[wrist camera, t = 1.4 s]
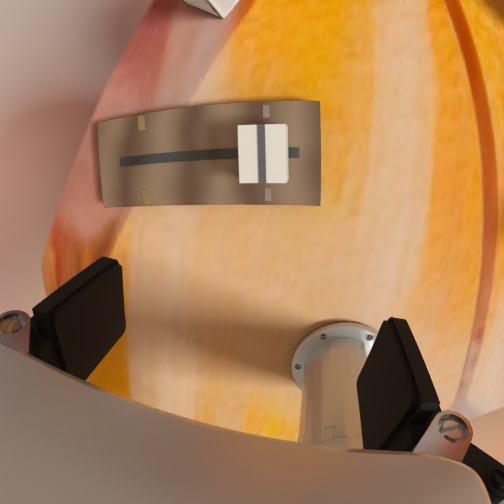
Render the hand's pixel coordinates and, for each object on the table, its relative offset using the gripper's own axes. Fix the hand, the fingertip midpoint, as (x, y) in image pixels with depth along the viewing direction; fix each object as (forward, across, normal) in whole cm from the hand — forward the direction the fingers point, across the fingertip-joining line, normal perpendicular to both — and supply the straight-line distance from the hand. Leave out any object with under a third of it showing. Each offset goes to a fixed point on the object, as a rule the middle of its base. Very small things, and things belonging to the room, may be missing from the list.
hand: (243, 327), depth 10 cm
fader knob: (+21, +2, -4) cm, 21 cm away
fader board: (+23, +9, -3) cm, 25 cm away
